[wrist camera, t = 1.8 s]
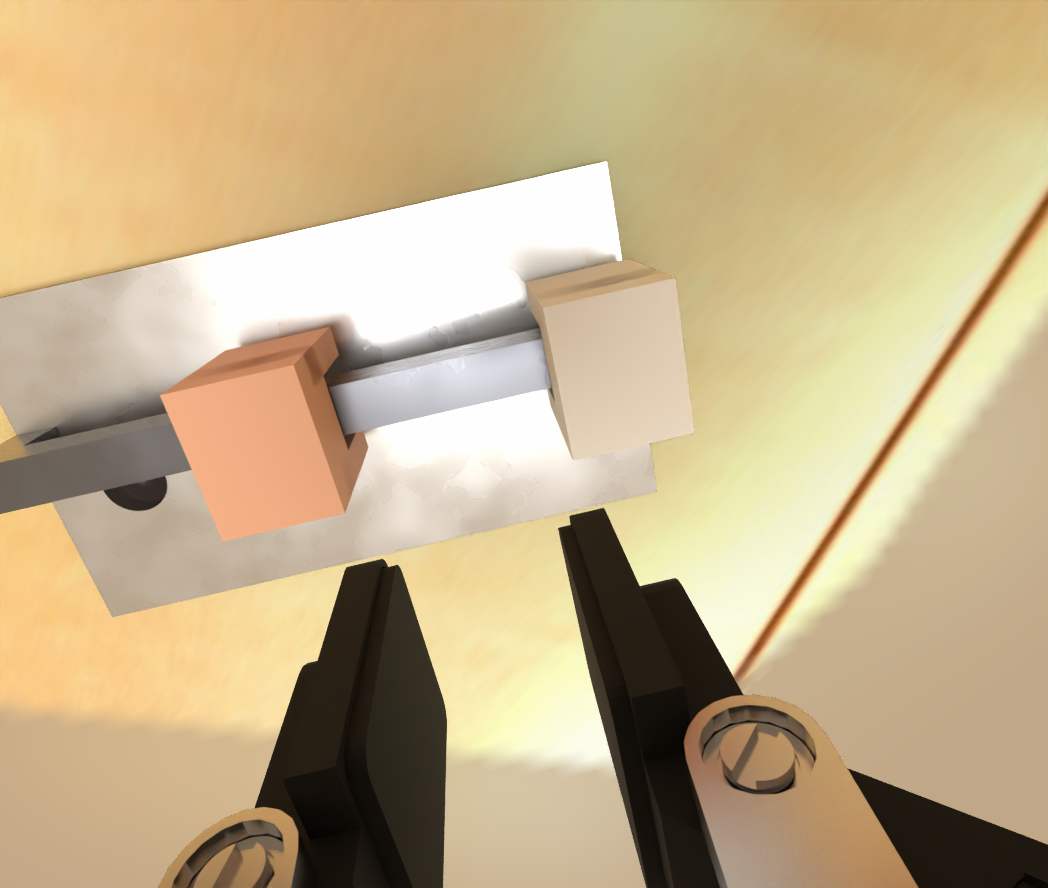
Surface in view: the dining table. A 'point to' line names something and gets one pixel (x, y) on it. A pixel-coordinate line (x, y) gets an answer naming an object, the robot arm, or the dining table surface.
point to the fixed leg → (613, 356)
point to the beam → (358, 398)
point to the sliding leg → (267, 435)
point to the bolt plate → (362, 341)
